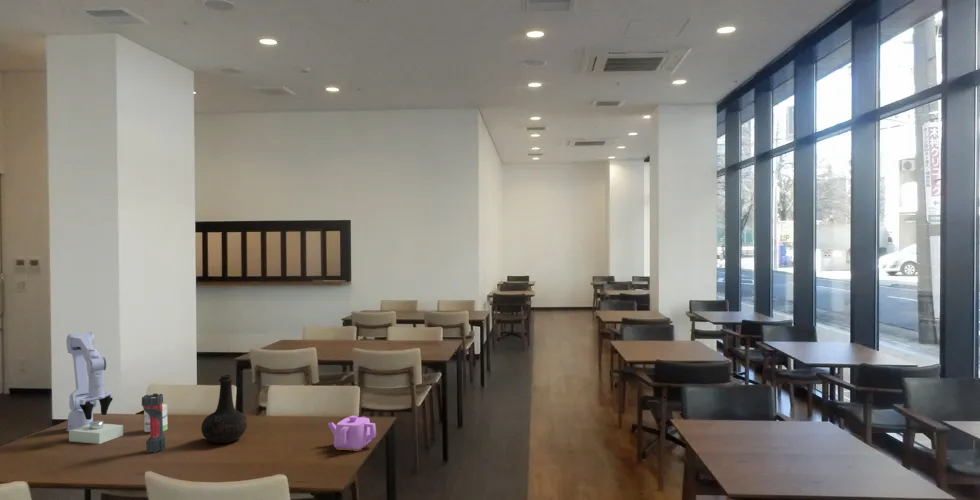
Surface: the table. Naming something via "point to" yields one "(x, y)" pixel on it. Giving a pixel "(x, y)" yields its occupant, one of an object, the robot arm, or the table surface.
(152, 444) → the flashlight
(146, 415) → the ink box
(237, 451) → the table surface
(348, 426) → the teakettle
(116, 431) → the pin block
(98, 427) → the steel pin
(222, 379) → the glass bottle
